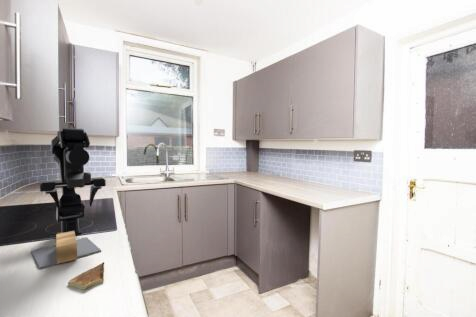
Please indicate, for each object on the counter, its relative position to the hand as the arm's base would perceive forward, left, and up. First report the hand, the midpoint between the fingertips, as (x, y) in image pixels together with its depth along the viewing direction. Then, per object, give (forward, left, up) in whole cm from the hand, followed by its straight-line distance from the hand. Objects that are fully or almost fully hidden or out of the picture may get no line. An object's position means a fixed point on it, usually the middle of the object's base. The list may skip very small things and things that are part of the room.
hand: (75, 208), depth 86 cm
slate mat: (+5, -4, -13) cm, 14 cm away
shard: (+28, -4, -14) cm, 31 cm away
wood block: (+2, -3, -10) cm, 11 cm away
